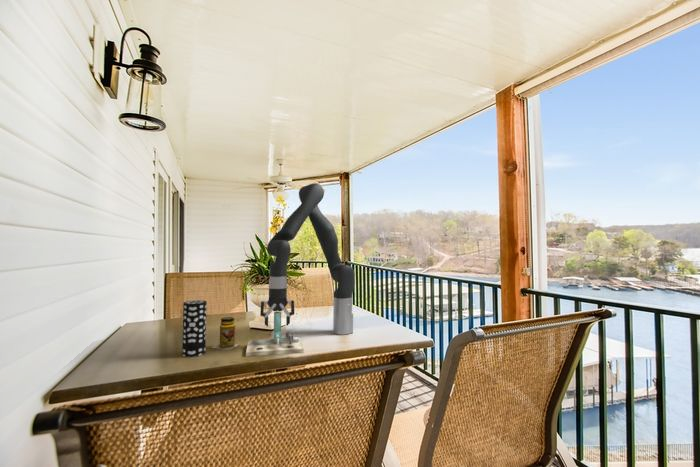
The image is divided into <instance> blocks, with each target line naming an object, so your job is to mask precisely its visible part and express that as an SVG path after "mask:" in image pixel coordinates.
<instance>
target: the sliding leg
mask: <svg viewBox="0 0 700 467" xmlns="http://www.w3.org/2000/svg"><path fill="white" fill-rule="evenodd" d="M281 338H282V311H273V339H274V340H277V345H279V340H281Z"/></svg>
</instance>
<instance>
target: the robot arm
mask: <svg viewBox="0 0 700 467" xmlns="http://www.w3.org/2000/svg"><path fill="white" fill-rule="evenodd" d="M324 195H325V190H324V188H323V186H322V185H321V184H320V183H315V182H313V183H310V184H307V185H304V186H302V187H301V188H299V190H298V198H299V200H300V205H299V206H298V207H297V208H296V209H295V210H294V211H293V212H292V213H291V214H290V215H289V217H287V219H286V220H285V222H284V224H283V225H282V227H281V228H280V230H279V231H278V232H277V233H276V234H275V235H274V236H272V238H271V239H270V240H269V242H268V243H267V253H268V254H269V255H270V256H273V257H275V259H274V261H273V262H271V263H270V265H269V281H268V300H267V301H264V300H261V302H260V312H259V316H261V317H264V326H266V327H269V316H270V315H271V313H272V312H282V311H283V312H284V314H285V315H286V319H285V320H286V322H285V326H289V325H290V323H291V316H294V315H295V301H294V299H291V300H288V297H287V296H288V294H287V293H288V280H287V278H288V276H287V274H288V269H287V266H288V264H289V261H290V260H289V258H290V256H291V252H292V250H291V245H290V243H289V242H290V241H292V240H294V239H295V238H296V236H297V235H298V232H299V231H300V230H301V228H302V226H303V224H304V223H305V222H306V220H307V219H308V218H309V220H310V223H311V226H312V228H313V230H314V233H315V235H316V238H317V241H318V243H319V245H320V248H321V250H322V253H323V255H324V258H325V261H326V263H327V267H328V270H329V273H330V276H331V278H332V280H333V281H334V282H335V283H337V288H336V289H335V290H334V291H333V299H332V300H333V307H332V308H333V310H332V311H333V312H332V313H333V314H332V315H333V316H332V318H333V319H332V320H333V321H332V323H333V324H332V326H333V327H332V331H333V332H332V333H333V334H336V335H350V334H353V333H354V313H353V294H354V290H355V271H354V268H353V267H352V266H351V265H349V264H343V262H342V260H341V256H340V255H339V240H338V236H337V232H336V231H335V230H336V229H335V228H334V226H333V224H332V222H331V221H329V220H328V218H327V217H326V216H325V215H324V214H323V212H322V211H321V209H320V207H319V204H320V202H321V201H322V200H323V198H324ZM288 304H289V306H290V311H288V309H287V305H288ZM266 306H268V307H269V308H268V309H267V310H266V312H264V310H265V307H266Z"/></svg>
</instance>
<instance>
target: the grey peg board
mask: <svg viewBox="0 0 700 467" xmlns="http://www.w3.org/2000/svg"><path fill="white" fill-rule="evenodd" d="M293 330H294V329H288V330H285V336H284V337H281V340H279V345H277V340H274V338H264V339H263V338H262V339H260V338H259V339H250V340H249V341H248V342H247V345H246V346H247V347H246V352H245V357H256V356H271V355H272V356H273V355H284V354H285V355H286V354H297V353H298V354H299V353H300V354H302V353H304V351H305V350H304V346H303V343H302V340H301V339H300V338H299V337H298V336H297V337H295V336H294V331H293Z"/></svg>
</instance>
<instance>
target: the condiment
mask: <svg viewBox="0 0 700 467" xmlns="http://www.w3.org/2000/svg"><path fill="white" fill-rule="evenodd" d="M220 321H221V322H220V326H219V344H217V345H215V346H212V347H211V348H212V349H218V350H226V351H228V350H231V349H234V348H236V347H238V346H239V344H236V324H235V318H234V317H233V316H225V317H222V318H221V319H220Z"/></svg>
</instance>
